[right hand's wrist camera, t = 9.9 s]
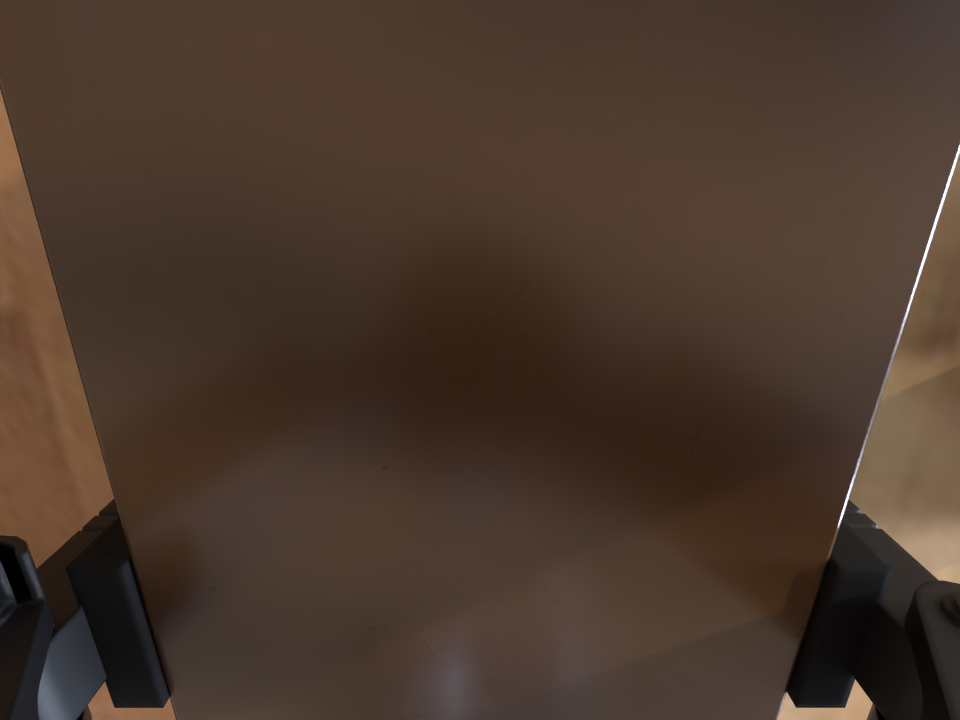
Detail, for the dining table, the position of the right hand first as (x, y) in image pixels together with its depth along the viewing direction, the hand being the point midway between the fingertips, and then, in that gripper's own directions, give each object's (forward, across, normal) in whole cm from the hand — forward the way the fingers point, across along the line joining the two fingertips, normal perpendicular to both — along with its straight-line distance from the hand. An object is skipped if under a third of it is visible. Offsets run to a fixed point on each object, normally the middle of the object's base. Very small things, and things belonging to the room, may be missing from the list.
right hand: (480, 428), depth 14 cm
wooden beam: (0, 0, -28) cm, 28 cm away
